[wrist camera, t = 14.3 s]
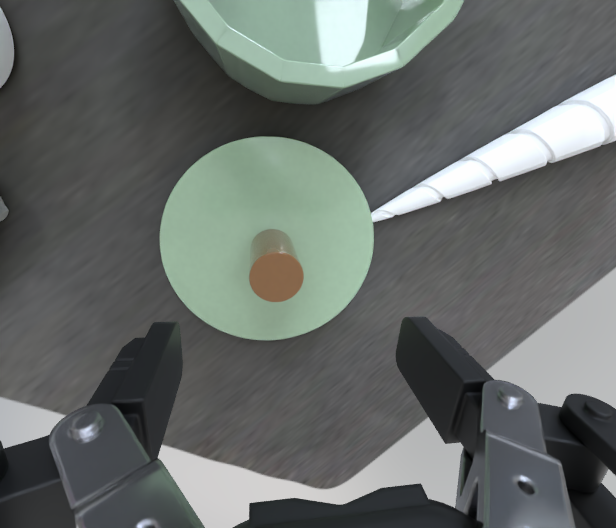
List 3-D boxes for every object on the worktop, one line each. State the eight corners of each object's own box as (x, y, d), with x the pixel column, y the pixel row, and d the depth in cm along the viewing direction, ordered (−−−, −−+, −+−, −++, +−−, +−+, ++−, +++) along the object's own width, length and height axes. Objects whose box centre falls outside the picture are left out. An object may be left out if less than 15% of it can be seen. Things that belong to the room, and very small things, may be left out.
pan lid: (154, 126, 20) (114, 121, 14) (382, 145, 22) (426, 146, 17) (171, 334, 25) (147, 392, 19) (356, 331, 27) (383, 380, 22)
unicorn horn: (341, 171, 22) (363, 179, 18) (658, 41, 23) (758, 17, 18) (361, 233, 24) (386, 254, 20) (654, 112, 24) (744, 105, 20)
